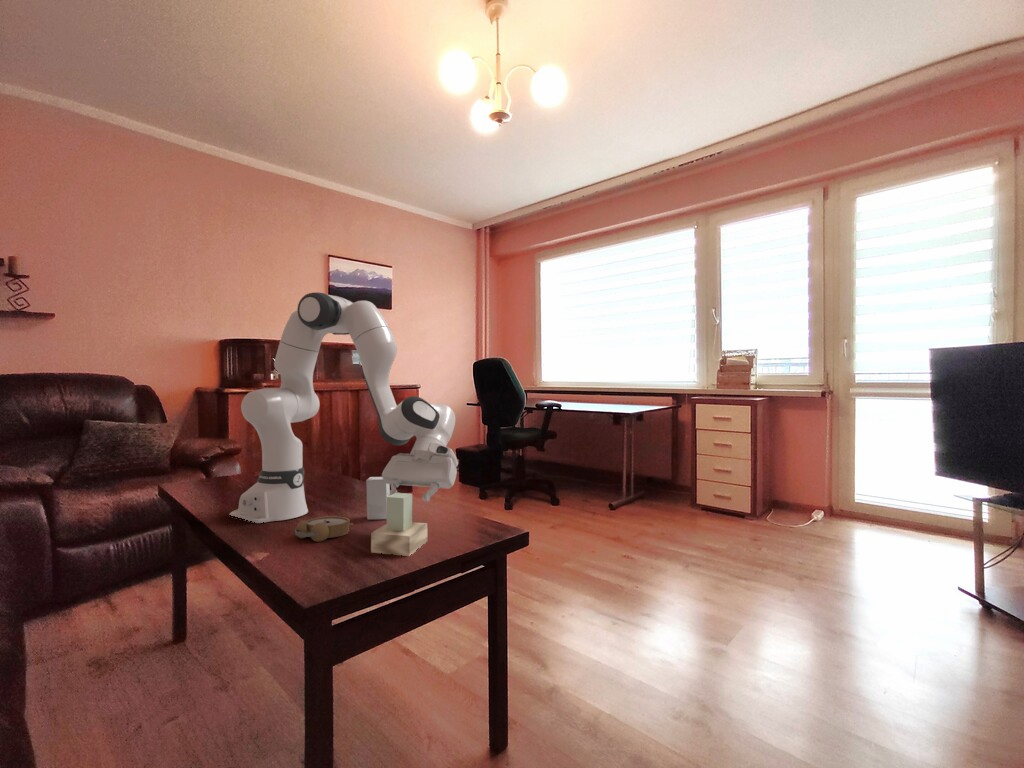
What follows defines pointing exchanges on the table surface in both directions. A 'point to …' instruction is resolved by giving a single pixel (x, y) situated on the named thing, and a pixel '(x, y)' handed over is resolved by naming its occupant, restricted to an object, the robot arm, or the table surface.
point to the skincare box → (377, 498)
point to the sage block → (399, 511)
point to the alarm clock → (323, 528)
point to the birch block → (399, 540)
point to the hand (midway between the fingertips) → (408, 498)
